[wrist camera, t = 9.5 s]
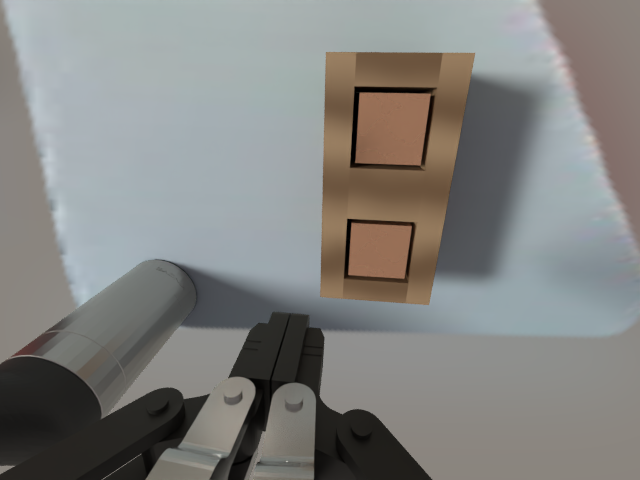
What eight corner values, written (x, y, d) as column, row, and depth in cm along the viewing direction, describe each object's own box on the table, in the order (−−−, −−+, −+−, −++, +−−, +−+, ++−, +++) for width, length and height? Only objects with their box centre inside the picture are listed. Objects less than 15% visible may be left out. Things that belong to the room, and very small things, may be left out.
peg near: (404, 151, 32) (420, 165, 24) (355, 149, 33) (355, 163, 25) (410, 97, 30) (430, 93, 22) (358, 96, 31) (359, 92, 23)
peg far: (393, 241, 36) (404, 278, 28) (349, 238, 36) (348, 275, 28) (398, 198, 34) (411, 226, 26) (352, 196, 34) (351, 223, 26)
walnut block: (412, 261, 37) (429, 304, 29) (327, 255, 38) (320, 296, 30) (441, 68, 29) (475, 53, 21) (333, 67, 30) (326, 52, 22)
